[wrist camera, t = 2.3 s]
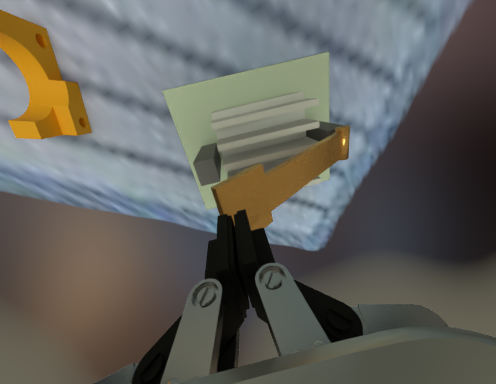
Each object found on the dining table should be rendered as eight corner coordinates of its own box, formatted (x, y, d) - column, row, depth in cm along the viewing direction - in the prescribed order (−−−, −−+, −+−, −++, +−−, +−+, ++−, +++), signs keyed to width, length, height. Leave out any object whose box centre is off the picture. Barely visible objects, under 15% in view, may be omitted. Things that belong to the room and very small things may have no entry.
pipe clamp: (92, 132, 28) (58, 139, 22) (60, 130, 27) (16, 137, 21) (63, 31, 22) (8, 6, 17) (22, 26, 22) (-49, -1, 16)
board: (324, 53, 27) (378, 27, 17) (326, 177, 36) (362, 203, 26) (164, 91, 26) (132, 85, 17) (207, 206, 35) (201, 243, 26)
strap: (339, 119, 21) (352, 118, 20) (338, 160, 23) (350, 162, 22) (207, 186, 11) (219, 191, 10) (227, 245, 14) (239, 253, 13)
